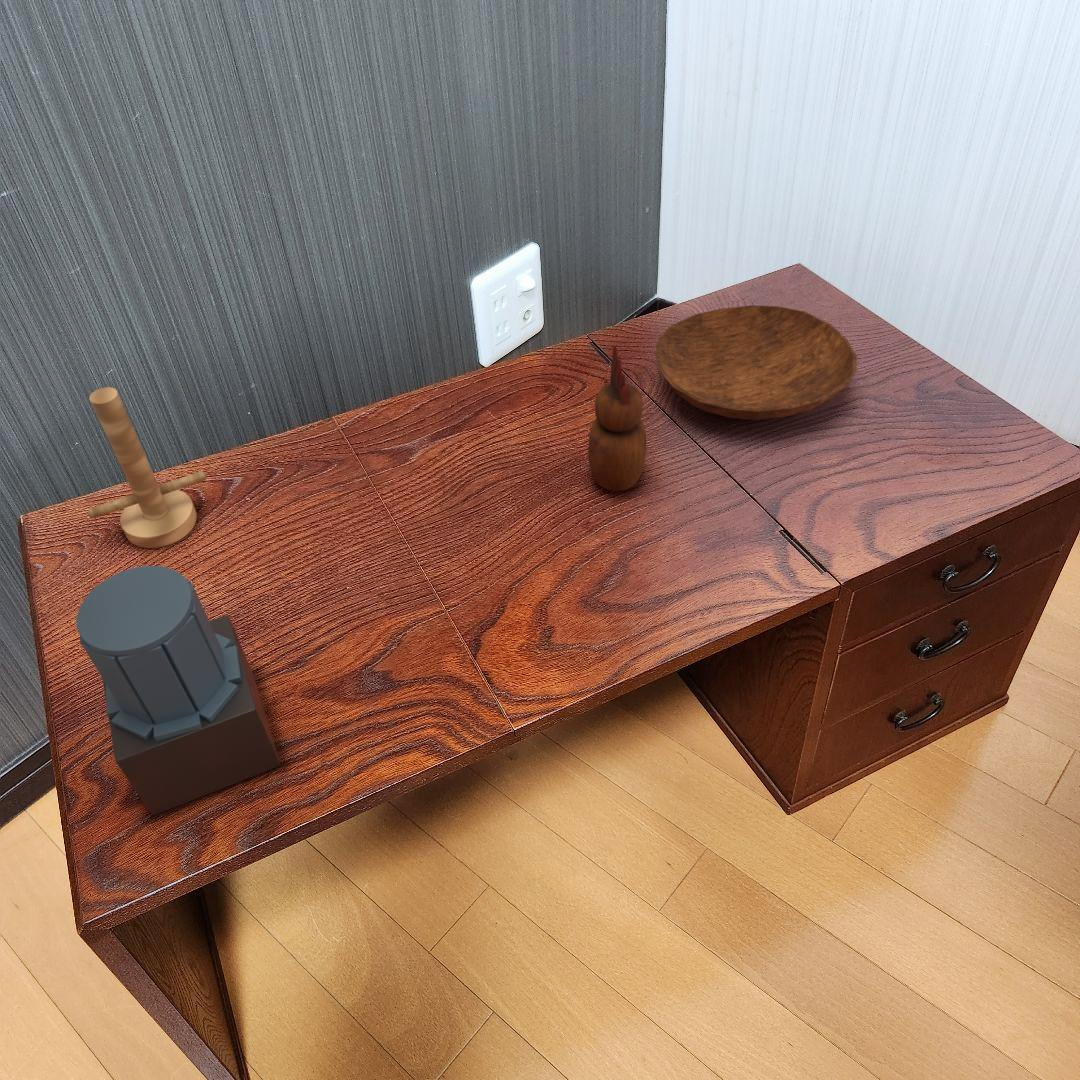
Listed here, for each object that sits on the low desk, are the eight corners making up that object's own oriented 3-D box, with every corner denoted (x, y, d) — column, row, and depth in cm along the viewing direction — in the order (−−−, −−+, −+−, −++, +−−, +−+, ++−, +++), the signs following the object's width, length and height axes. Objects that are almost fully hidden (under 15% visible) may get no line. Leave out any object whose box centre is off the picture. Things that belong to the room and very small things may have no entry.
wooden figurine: (591, 455, 99) (593, 334, 88) (646, 458, 98) (654, 337, 87) (584, 498, 94) (585, 377, 83) (641, 502, 94) (650, 380, 83)
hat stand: (110, 566, 90) (41, 437, 78) (97, 522, 94) (30, 394, 82) (226, 524, 93) (177, 395, 82) (208, 483, 98) (159, 356, 86)
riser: (152, 816, 71) (115, 761, 65) (134, 716, 77) (98, 658, 72) (281, 766, 74) (256, 709, 68) (253, 673, 80) (228, 614, 74)
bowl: (879, 426, 101) (890, 389, 97) (686, 461, 98) (690, 424, 94) (802, 328, 114) (810, 292, 111) (631, 357, 111) (632, 320, 108)
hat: (80, 709, 68) (29, 633, 62) (170, 617, 74) (131, 539, 68) (181, 758, 65) (137, 683, 59) (266, 658, 71) (234, 580, 65)
